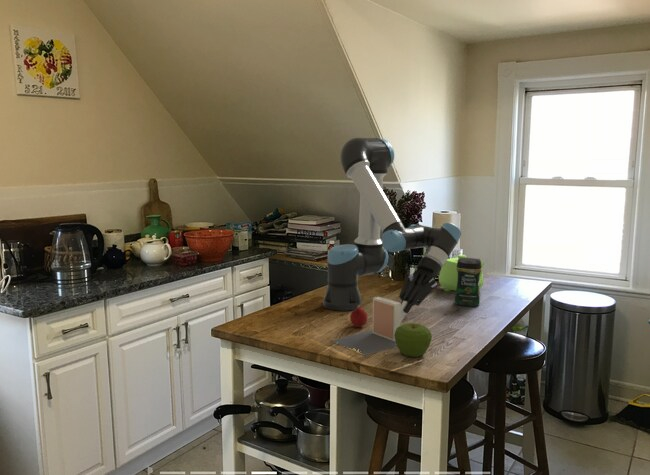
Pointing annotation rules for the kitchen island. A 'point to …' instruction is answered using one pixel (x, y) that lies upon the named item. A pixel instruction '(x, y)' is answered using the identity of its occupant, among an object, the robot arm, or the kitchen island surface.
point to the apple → (413, 339)
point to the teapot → (453, 274)
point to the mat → (366, 342)
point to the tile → (386, 317)
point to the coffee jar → (468, 282)
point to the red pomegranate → (358, 317)
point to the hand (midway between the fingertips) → (397, 319)
